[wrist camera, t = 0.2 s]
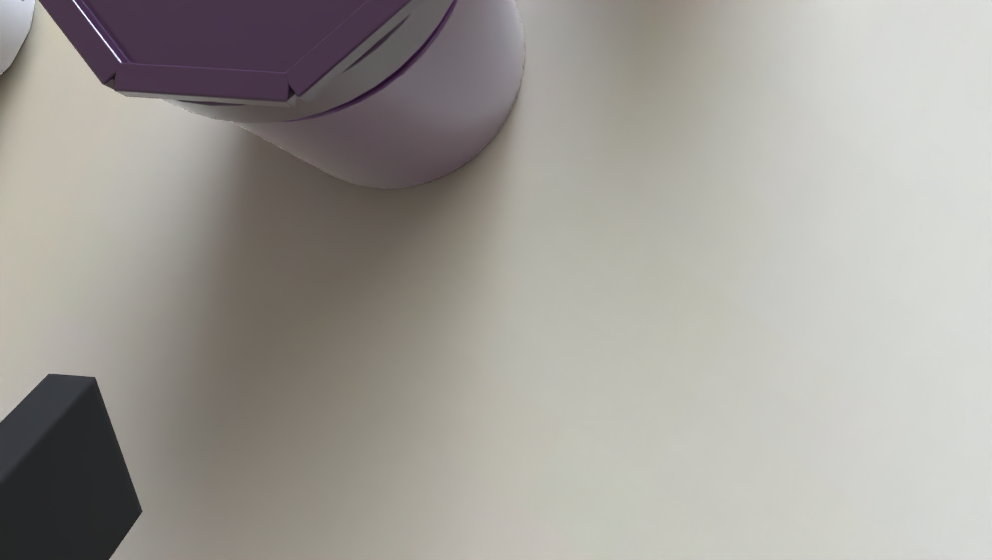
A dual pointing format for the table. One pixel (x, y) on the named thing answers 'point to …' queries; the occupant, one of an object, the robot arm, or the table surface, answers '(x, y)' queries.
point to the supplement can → (13, 28)
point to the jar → (319, 73)
